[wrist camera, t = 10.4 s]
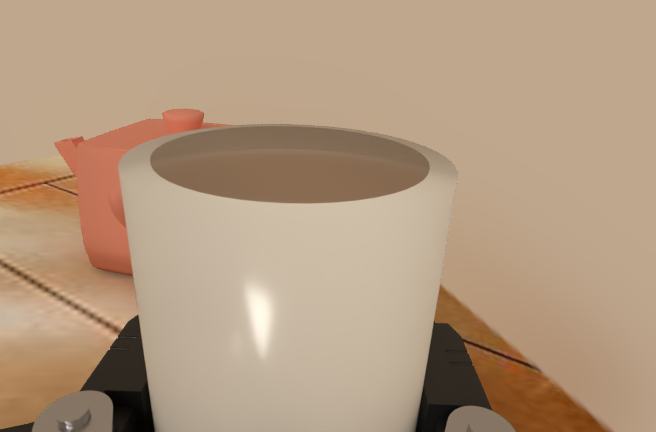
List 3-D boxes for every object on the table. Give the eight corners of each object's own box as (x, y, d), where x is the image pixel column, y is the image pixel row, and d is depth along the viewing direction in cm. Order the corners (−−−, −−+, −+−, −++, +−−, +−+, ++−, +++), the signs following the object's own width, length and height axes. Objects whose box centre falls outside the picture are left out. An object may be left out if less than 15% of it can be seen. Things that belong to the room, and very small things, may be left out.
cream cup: (136, 604, 12) (45, 152, 7) (277, 456, 16) (278, 113, 11) (302, 804, 9) (334, 259, 4) (420, 558, 13) (501, 153, 8)
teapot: (292, 217, 53) (295, 99, 48) (225, 331, 33) (217, 149, 28) (137, 200, 56) (123, 86, 50) (-12, 296, 36) (-63, 123, 30)
